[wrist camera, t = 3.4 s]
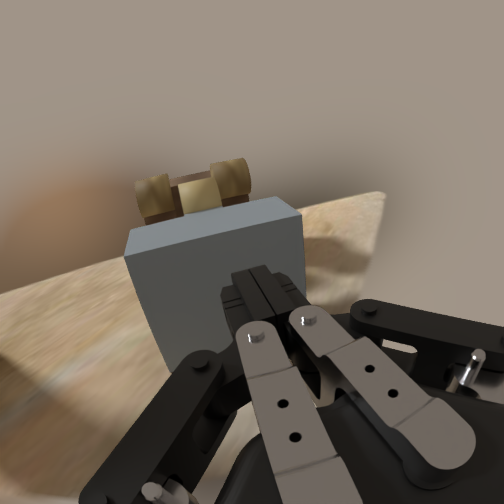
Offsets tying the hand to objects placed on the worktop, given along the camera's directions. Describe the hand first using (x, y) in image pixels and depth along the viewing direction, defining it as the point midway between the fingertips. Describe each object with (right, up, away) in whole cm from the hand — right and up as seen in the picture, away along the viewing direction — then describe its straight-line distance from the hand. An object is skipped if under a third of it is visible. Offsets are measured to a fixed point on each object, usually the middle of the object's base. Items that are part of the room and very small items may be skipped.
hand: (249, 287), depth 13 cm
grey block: (-2, -4, +10) cm, 11 cm away
